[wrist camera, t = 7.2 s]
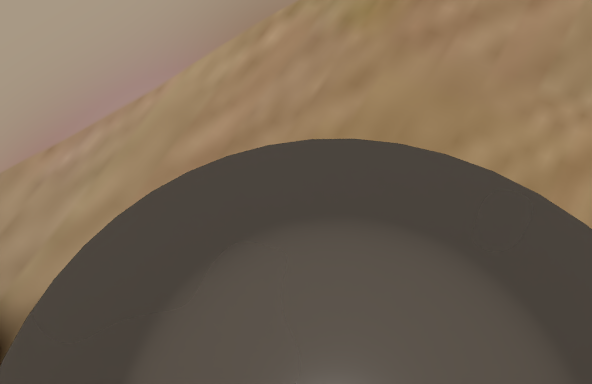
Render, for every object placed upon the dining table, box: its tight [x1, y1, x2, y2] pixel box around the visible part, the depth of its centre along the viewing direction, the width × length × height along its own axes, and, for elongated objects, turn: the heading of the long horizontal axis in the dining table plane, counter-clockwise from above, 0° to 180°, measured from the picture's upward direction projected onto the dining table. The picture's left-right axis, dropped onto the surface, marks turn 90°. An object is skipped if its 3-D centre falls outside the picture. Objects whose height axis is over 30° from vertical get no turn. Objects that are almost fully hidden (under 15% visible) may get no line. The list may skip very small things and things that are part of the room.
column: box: [0, 139, 592, 384], centre depth 9 cm, size 5×5×13 cm
